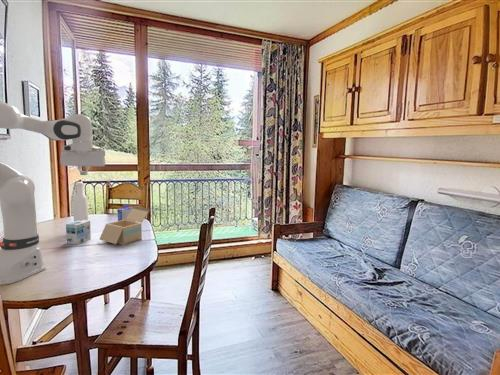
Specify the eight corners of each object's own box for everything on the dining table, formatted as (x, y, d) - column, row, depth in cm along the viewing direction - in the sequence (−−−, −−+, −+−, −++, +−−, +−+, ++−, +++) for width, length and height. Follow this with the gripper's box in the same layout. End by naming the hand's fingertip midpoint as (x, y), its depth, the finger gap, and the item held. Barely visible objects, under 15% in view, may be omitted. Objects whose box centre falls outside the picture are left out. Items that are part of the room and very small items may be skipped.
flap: (149, 209, 178) (150, 209, 178) (134, 206, 184) (134, 206, 185) (141, 222, 173) (141, 222, 174) (125, 218, 180) (126, 219, 180)
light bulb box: (77, 245, 161) (76, 225, 160) (66, 243, 162) (65, 224, 161) (91, 239, 172) (90, 220, 170) (80, 238, 173) (80, 219, 171)
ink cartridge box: (130, 224, 205) (130, 203, 203) (136, 226, 202) (135, 204, 200) (117, 227, 196) (116, 205, 194) (122, 229, 193) (122, 206, 191)
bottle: (72, 231, 185) (69, 181, 181) (86, 229, 191) (84, 181, 187) (76, 234, 180) (74, 183, 176) (91, 231, 186) (89, 182, 182)
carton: (116, 246, 160) (115, 229, 159) (99, 242, 167) (98, 225, 166) (141, 239, 174) (141, 222, 173) (125, 234, 181) (124, 219, 180)
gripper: (106, 148, 159) (107, 174, 161) (63, 146, 155) (64, 174, 157) (103, 148, 153) (103, 175, 154) (58, 146, 149) (59, 175, 151)
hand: (83, 175), depth 156 cm, fingers closed
